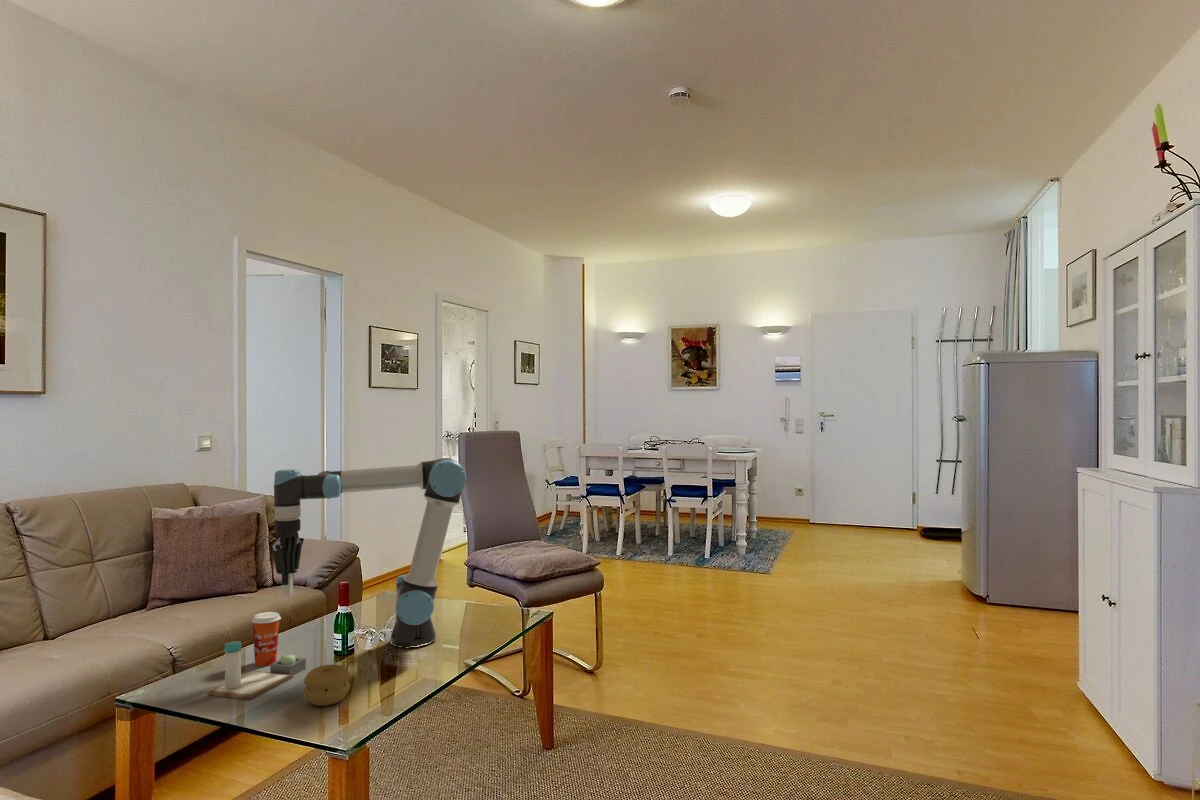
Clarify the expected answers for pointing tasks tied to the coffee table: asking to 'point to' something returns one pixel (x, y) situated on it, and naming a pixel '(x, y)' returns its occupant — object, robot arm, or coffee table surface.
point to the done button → (288, 659)
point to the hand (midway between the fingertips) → (287, 594)
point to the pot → (326, 685)
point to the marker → (232, 665)
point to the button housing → (288, 667)
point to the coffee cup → (265, 637)
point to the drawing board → (252, 685)
